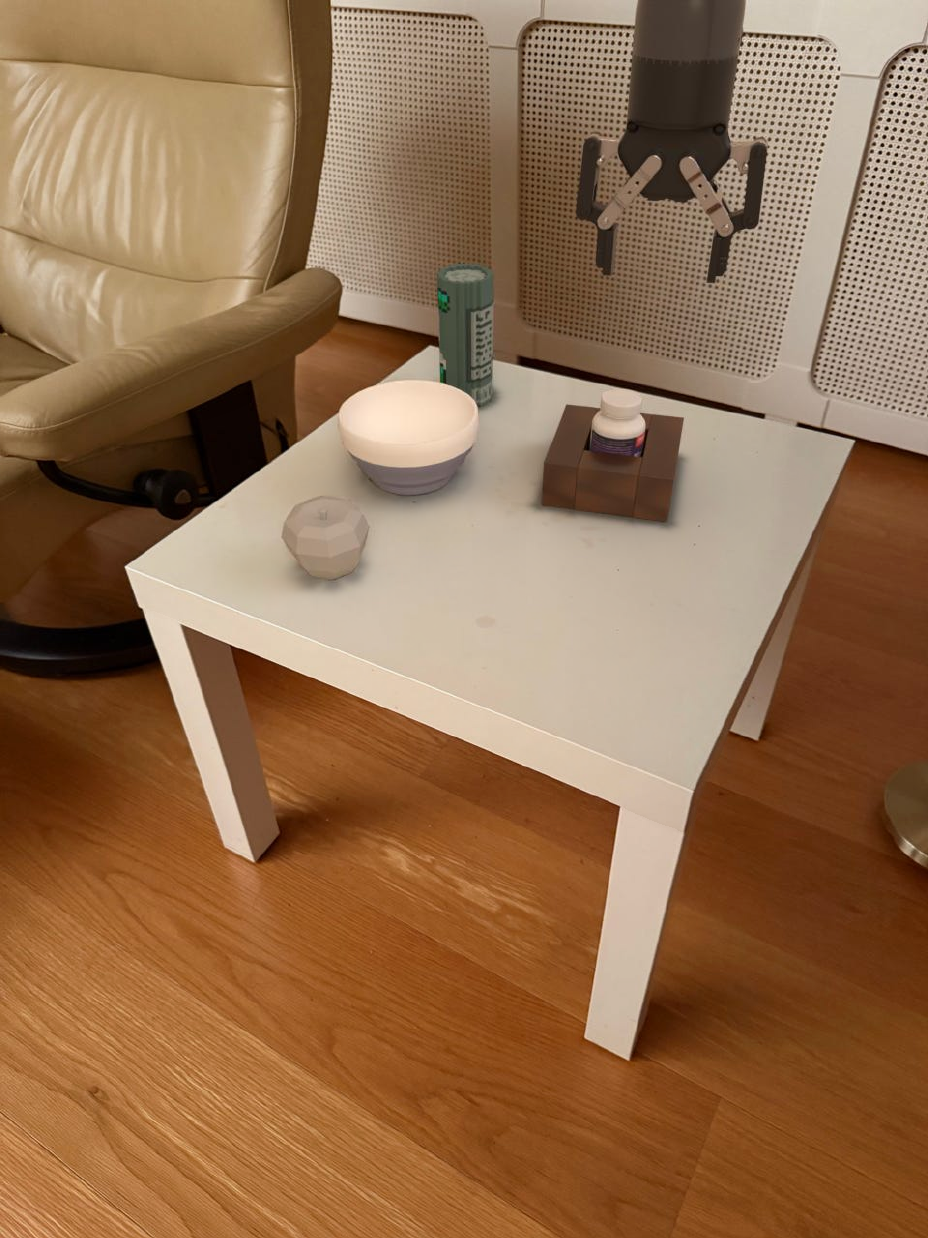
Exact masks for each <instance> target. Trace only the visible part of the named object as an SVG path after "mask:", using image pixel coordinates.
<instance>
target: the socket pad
mask: <svg viewBox="0 0 928 1238" xmlns="http://www.w3.org/2000/svg"><path fill="white" fill-rule="evenodd" d="M600 408H601V407H593V406H586V405H585V406H584V405H576V404H565V407H564V410H563V411H562V414H561V416H560V420H559V422H558V425H557V427H556V430H555V433H554V436H553V438H552V441H551V443H550V445H549V449H548V450H547V453H546V457H545V459H544V462H543V471H542V472H543V473H542V488H541V489H542V490H541V491H542V492H541V505H542V506H546V507H547V506H548V507H553V508H562V509H568V510H569V509H570V510H574V511H575V510H576V511H582V512H588V513H589V512H590V513H598V514H603V515H604V514H606V515H611V516H620V517H626V518H636V519H640V520H648V521H656V522H662V523H663V522H664V523H667V522H668V518H669V513H670V507H671V500H672V494H673V489H674V482H675V476H676V472H677V471H676V470H677V464H678V458H679V451H680V446H681V439H682V434H683V427H684V423H685V422H684V421H685V417H682V416H674V415H666V414H665V415H664V414H657V413H647V412H640V415H641V416H642V417H643V418H644V420H645V434H644V441H643V449H642V456H641V457H636V456H628V455H620V454H611V453H603V452H595V451H589V450H590V438H591V427H592V420H593V418H594V416H595V415H596V414H597V413H598V412H599V411H601V410H600Z"/></svg>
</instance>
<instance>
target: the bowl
mask: <svg viewBox="0 0 928 1238" xmlns="http://www.w3.org/2000/svg"><path fill="white" fill-rule="evenodd" d="M337 420H338V421H337V428H338V431H339V436H340V440H341V444H342V446H343V447H344V449H345V450H346V451H347V453H348V455H349V456H350V457H351V459H352V460H353V461H354V462H355V463H356V465H357V466H358V468H359V469H360V471H362V472H363V473H364V474H365V475H367V477H369V478H370V479H371V481H372V482H373V483H374V484H375V485H376V486H377V487H378V488H379V489H382V490H383V491H385V492H387V493H391V494H395V495H401V496H418V495H424V494H428V493H431V492H435V491H437V490H439V489H441V488H443V487H444V486H446V484H448V483H449V482H450V481H451V479H452V478H453V476H454V474H455V473H456V472H457V471H458V470H459V469H460V468H461V466H462V465H463V464H464V463H465V460H466V457H467V456H468V455H469V454H470V453H471V451H472V449H473V446H474V444H475V443H476V441H477V438H478V435H479V428H480V416H479V406H477V405H476V403H475V401H474V400H473V399H472V398H471V397H470V396H469V395H468V394H466V393H465V392H463V391H462V390H460V389H458V388H455V387H453V386H450V385H447V384H443V383H440V381H432V380H421V379H403V380H394V381H388V382H383V383H378V384H375V385H371V386H368V387H366V388H364V389H362V390H359V391H357V392H356V393H354V394H353V395H351V396H350V397H348V398H347V399H346V400H345V401H344V402H343V403H342V405H341V407H340V408H339V410H338V416H337Z"/></svg>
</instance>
